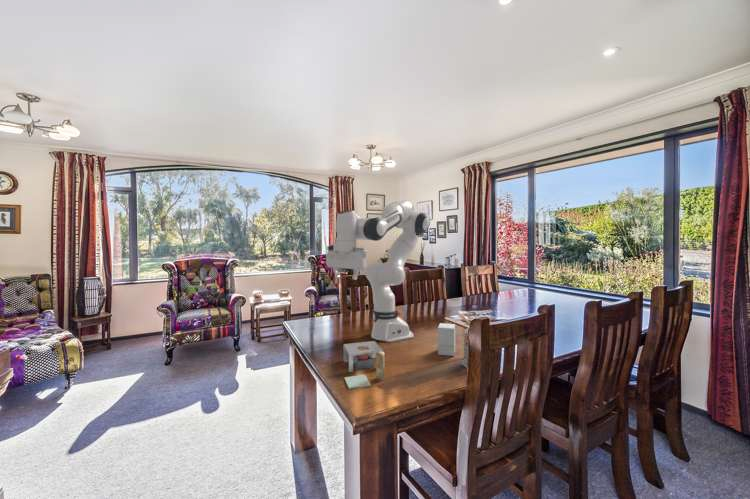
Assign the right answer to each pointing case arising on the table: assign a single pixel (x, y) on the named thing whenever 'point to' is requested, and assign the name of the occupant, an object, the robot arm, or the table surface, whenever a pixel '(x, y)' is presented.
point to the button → (363, 356)
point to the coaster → (357, 381)
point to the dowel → (380, 366)
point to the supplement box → (446, 339)
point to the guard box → (354, 352)
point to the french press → (466, 345)
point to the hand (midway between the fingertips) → (346, 278)
